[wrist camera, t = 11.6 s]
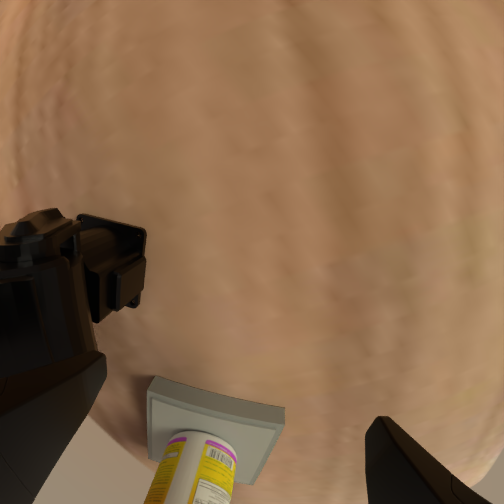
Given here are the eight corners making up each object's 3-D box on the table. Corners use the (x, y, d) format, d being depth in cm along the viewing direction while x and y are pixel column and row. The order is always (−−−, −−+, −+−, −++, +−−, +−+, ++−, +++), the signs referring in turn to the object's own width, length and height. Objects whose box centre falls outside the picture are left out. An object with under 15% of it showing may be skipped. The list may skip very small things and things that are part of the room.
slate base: (154, 445, 27) (147, 460, 24) (155, 375, 24) (145, 392, 21) (254, 471, 26) (252, 487, 24) (284, 407, 23) (284, 427, 21)
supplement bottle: (173, 459, 24) (137, 555, 11) (166, 421, 22) (114, 535, 10) (237, 471, 23) (218, 575, 11) (240, 434, 22) (216, 563, 9)
